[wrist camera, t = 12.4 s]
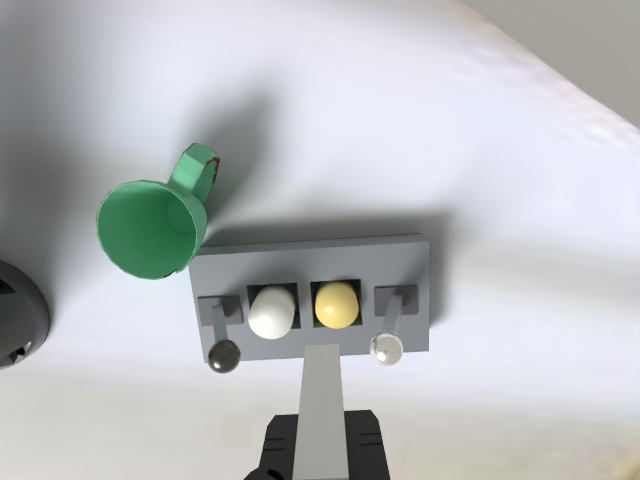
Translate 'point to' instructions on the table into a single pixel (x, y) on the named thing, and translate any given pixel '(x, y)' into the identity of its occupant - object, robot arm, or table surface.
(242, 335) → the panel
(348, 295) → the button mustard
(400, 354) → the lever
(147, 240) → the mug
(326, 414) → the robot arm
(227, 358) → the lever
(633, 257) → the table surface
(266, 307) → the button ivory
